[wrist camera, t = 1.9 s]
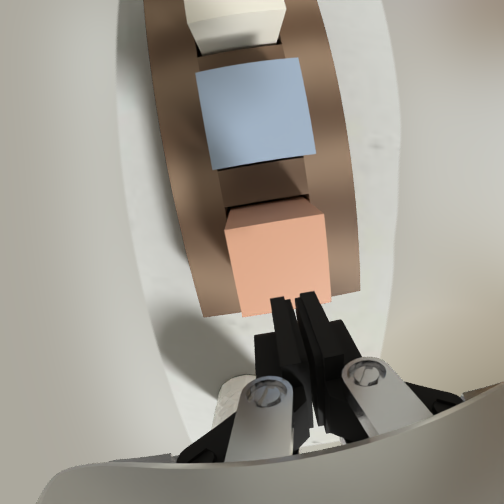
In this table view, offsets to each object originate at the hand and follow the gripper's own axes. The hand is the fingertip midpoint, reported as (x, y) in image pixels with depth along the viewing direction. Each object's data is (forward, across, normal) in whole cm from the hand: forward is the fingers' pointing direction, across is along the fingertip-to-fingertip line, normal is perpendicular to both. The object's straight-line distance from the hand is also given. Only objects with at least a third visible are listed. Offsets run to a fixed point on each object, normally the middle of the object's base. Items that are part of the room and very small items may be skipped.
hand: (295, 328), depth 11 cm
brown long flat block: (+15, 0, -9) cm, 17 cm away
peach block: (+11, 0, -1) cm, 11 cm away
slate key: (+11, 0, -9) cm, 14 cm away
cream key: (+11, 0, -17) cm, 20 cm away
